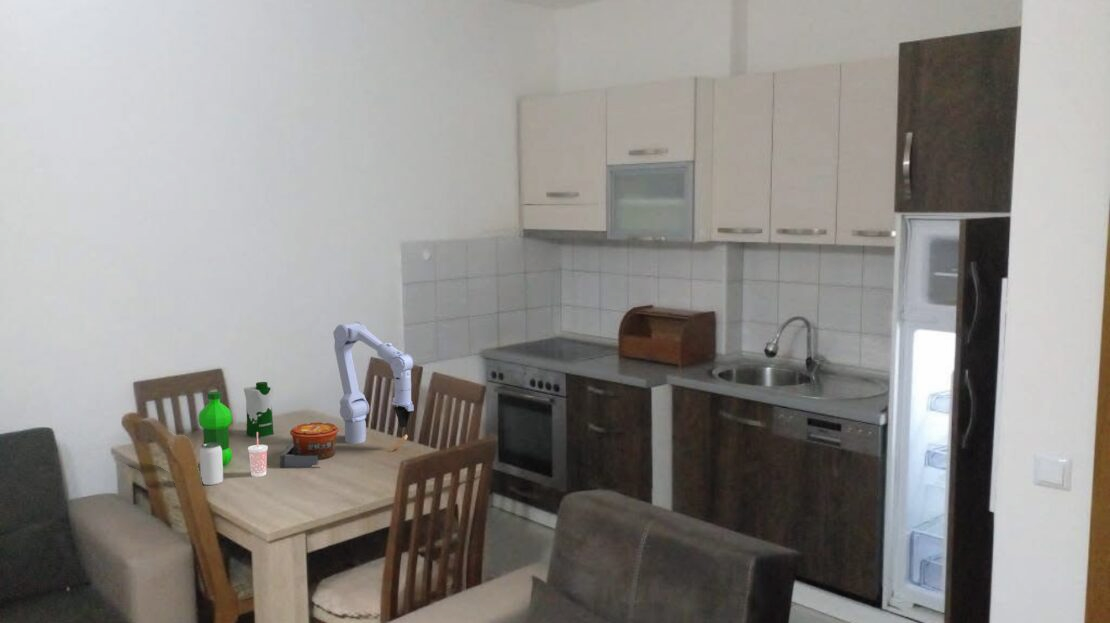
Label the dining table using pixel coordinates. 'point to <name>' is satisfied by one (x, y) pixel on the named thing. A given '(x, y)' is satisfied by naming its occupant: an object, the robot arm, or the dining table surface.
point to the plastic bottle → (216, 424)
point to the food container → (315, 439)
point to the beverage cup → (258, 459)
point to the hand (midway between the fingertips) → (403, 427)
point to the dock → (297, 459)
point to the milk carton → (259, 409)
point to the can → (211, 463)
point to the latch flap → (398, 443)
